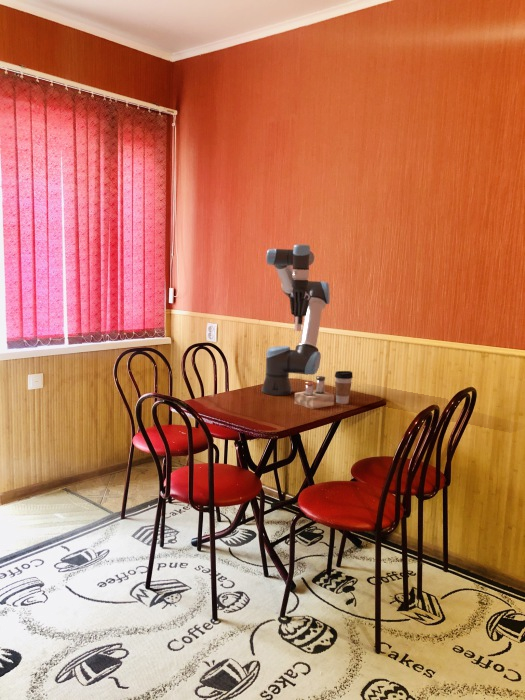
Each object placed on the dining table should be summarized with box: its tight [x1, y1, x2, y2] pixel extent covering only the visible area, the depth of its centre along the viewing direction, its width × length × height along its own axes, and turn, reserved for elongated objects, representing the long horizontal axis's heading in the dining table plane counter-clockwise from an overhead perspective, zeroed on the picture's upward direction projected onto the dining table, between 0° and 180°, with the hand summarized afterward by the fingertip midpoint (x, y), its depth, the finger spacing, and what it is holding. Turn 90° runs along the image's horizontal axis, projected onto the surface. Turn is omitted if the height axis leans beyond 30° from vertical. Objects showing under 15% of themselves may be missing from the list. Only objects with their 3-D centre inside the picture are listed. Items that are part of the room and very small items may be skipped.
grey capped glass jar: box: [315, 375, 326, 394], centre depth 268 cm, size 4×4×9 cm
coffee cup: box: [334, 370, 353, 405], centre depth 272 cm, size 8×8×15 cm
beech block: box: [293, 389, 335, 410], centre depth 267 cm, size 12×14×5 cm
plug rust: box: [304, 380, 315, 396], centre depth 264 cm, size 4×4×9 cm
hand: (297, 330), depth 262 cm, fingers closed
